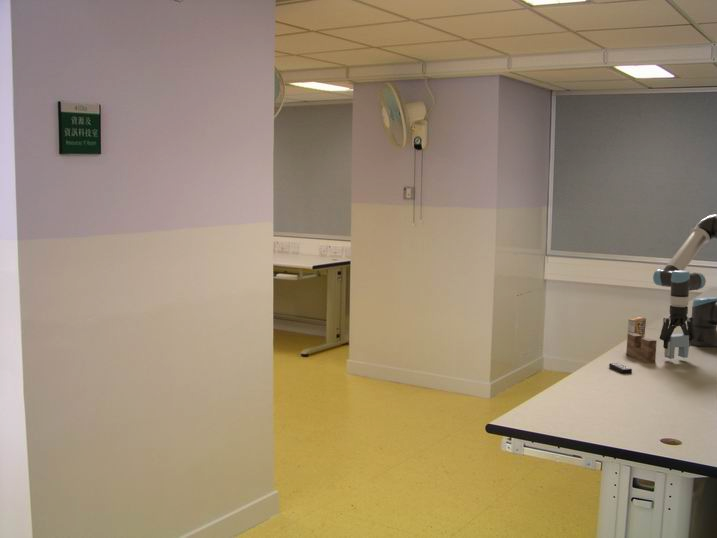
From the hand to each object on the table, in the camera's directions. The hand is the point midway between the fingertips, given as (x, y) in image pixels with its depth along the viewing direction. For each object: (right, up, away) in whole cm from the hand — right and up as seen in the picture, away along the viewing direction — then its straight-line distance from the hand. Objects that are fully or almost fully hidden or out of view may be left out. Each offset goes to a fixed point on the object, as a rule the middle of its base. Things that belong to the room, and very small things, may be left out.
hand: (676, 354), depth 355 cm
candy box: (-11, 0, +21) cm, 24 cm away
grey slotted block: (0, -1, 0) cm, 1 cm away
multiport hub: (-31, -5, -19) cm, 37 cm away
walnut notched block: (-15, -2, +3) cm, 15 cm away
